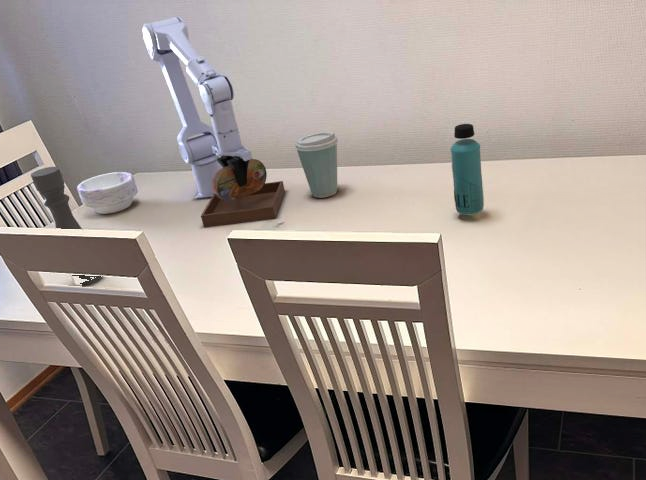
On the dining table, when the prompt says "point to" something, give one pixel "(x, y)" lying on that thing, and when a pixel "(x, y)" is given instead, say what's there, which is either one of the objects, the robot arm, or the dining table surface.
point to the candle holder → (58, 203)
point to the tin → (229, 187)
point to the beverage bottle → (467, 171)
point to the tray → (245, 206)
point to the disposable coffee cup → (319, 162)
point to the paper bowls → (108, 192)
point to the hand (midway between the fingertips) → (239, 184)
